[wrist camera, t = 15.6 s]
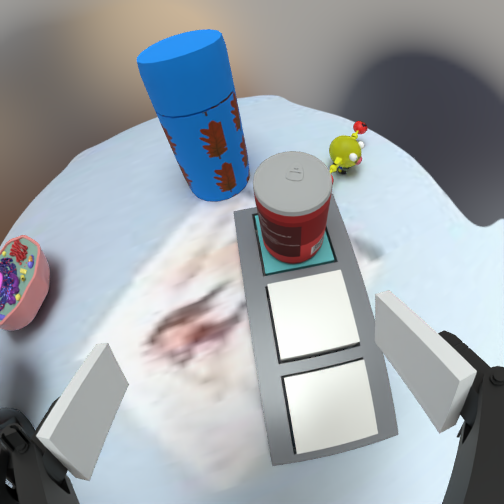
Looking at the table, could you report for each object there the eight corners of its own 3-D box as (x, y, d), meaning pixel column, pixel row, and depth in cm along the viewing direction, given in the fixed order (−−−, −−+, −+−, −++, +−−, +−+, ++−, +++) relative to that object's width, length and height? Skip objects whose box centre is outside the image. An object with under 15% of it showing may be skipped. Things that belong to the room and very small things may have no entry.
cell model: (73, 318, 39) (25, 293, 29) (9, 351, 37) (-34, 334, 27) (66, 239, 46) (30, 206, 37) (7, 279, 45) (-27, 255, 35)
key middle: (281, 362, 31) (280, 359, 28) (269, 294, 35) (267, 284, 32) (353, 346, 30) (359, 341, 27) (336, 280, 34) (340, 269, 31)
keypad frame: (274, 457, 27) (272, 465, 23) (238, 227, 42) (233, 211, 39) (387, 430, 26) (398, 434, 23) (329, 210, 42) (332, 193, 38)
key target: (267, 284, 37) (265, 273, 34) (257, 229, 41) (254, 215, 38) (330, 271, 37) (334, 259, 34) (315, 219, 41) (316, 204, 38)
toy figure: (336, 212, 41) (342, 182, 36) (304, 197, 43) (305, 167, 37) (373, 147, 47) (380, 119, 41) (347, 136, 49) (351, 108, 43)
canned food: (318, 209, 37) (324, 148, 28) (327, 263, 34) (340, 209, 24) (261, 213, 38) (251, 153, 28) (264, 268, 34) (253, 215, 25)
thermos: (255, 156, 49) (232, 25, 27) (244, 203, 44) (208, 53, 22) (198, 156, 51) (156, 38, 29) (181, 201, 46) (119, 72, 24)
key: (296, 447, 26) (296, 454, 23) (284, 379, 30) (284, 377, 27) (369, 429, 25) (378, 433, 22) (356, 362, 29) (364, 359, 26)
